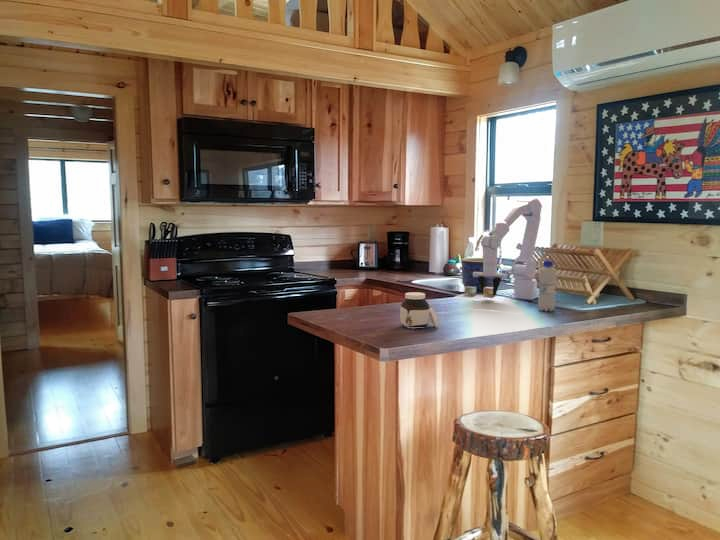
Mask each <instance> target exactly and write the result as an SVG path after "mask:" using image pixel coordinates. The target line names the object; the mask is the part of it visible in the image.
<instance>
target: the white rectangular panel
mask: <svg viewBox="0 0 720 540" xmlns="http://www.w3.org/2000/svg"><path fill="white" fill-rule="evenodd" d="M506 298H507V297H506V296H498V295H495V297H494V298H486V297H483V294H477V293H476V296H474V297H470V296H465V292H464V293H461V294H457V295H455V296H453V297H450V299H453V300H454V299H455V300H462V301H463V300H465V301H475V302H483V303H494V304H496V303H497V302H499V301H502V300H504V299H506Z"/></svg>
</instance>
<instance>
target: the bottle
mask: <svg viewBox="0 0 720 540" xmlns="http://www.w3.org/2000/svg"><path fill="white" fill-rule="evenodd" d="M553 265H554V263H553V261H552V260H544V261H543V267H540V269H539V272H538V273H539V274H538V281H539V286H538V288H539V289H538V290H539V291H538V301H537V306H538V309H539V311H540V312H545V313H547V312H548V311H549V312H553V311H554V310H555V308H556V298H555V295H556V282H557V276H558V275H557V269H556V268H555V267H553Z"/></svg>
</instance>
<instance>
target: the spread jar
mask: <svg viewBox="0 0 720 540" xmlns="http://www.w3.org/2000/svg"><path fill="white" fill-rule="evenodd" d="M399 308H400V309H399V311H400V312H399V314H400V315H399V317H400V323H401V325H402V324H403V325H405V326H409V327H425V328H427V326H428V325H429V324H430V323H431V325H432V324H433V325H434V326H435V327H434V328H437V327H436V326H438V327H440V322H439V319H438V316H437V313H436V311H435V310H434V308H433V307H430V304H429V302H428V301H427V300H426V293H424V292H418V291H417V292H416V291H415V292H413V291H411V292H405V294H404V299H403V300H402V301H401V303H400V307H399ZM403 325H402V326H403ZM433 325H432V326H433Z"/></svg>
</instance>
